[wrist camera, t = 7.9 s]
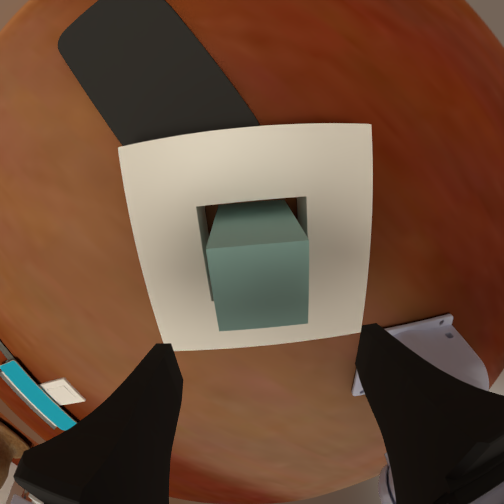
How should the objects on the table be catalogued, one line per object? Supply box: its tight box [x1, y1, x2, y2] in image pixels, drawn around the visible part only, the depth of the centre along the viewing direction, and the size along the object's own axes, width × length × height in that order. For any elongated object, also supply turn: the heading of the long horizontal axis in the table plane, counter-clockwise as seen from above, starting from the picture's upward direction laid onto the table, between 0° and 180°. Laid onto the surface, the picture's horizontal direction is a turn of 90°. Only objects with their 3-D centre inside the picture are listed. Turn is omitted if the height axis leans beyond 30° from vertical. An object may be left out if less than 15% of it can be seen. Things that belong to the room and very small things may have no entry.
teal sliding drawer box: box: [0, 341, 86, 430], centre depth 25 cm, size 20×12×2 cm, turn 25°
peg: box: [206, 200, 309, 331], centre depth 15 cm, size 4×4×7 cm
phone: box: [58, 0, 260, 146], centre depth 14 cm, size 7×1×15 cm
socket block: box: [118, 123, 373, 351], centre depth 17 cm, size 13×13×3 cm
